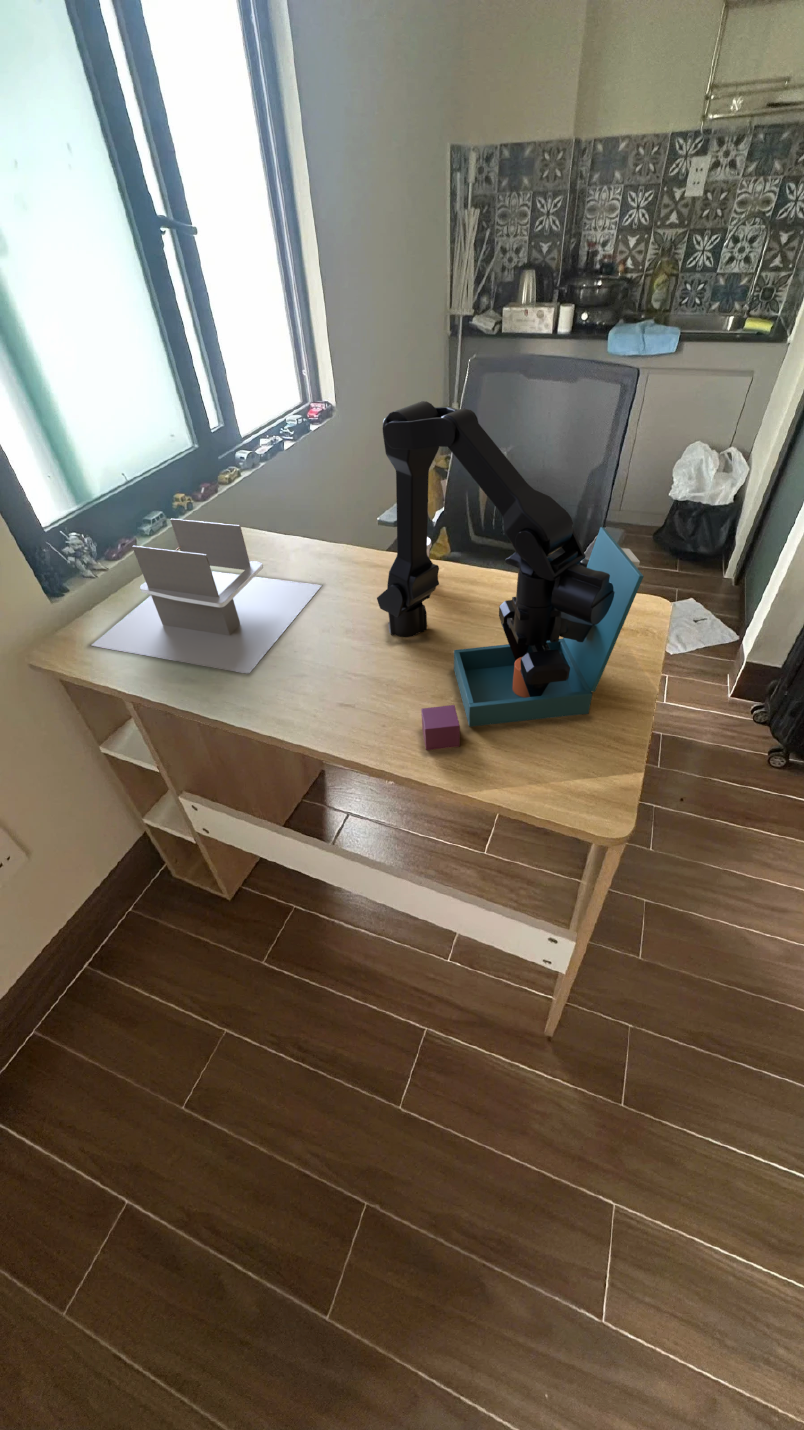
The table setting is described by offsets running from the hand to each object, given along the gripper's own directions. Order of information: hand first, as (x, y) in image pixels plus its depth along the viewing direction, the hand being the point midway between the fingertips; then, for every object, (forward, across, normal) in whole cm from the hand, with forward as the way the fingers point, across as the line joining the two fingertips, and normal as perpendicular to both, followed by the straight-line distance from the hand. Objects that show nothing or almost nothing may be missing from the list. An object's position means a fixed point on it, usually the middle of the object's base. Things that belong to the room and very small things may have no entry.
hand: (527, 681), depth 96 cm
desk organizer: (+2, +35, +56) cm, 66 cm away
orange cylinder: (+1, 0, 0) cm, 1 cm away
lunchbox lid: (-12, 0, -9) cm, 15 cm away
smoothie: (+2, +38, +13) cm, 40 cm away
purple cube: (+2, -9, +15) cm, 18 cm away
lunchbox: (+2, 0, +2) cm, 3 cm away
